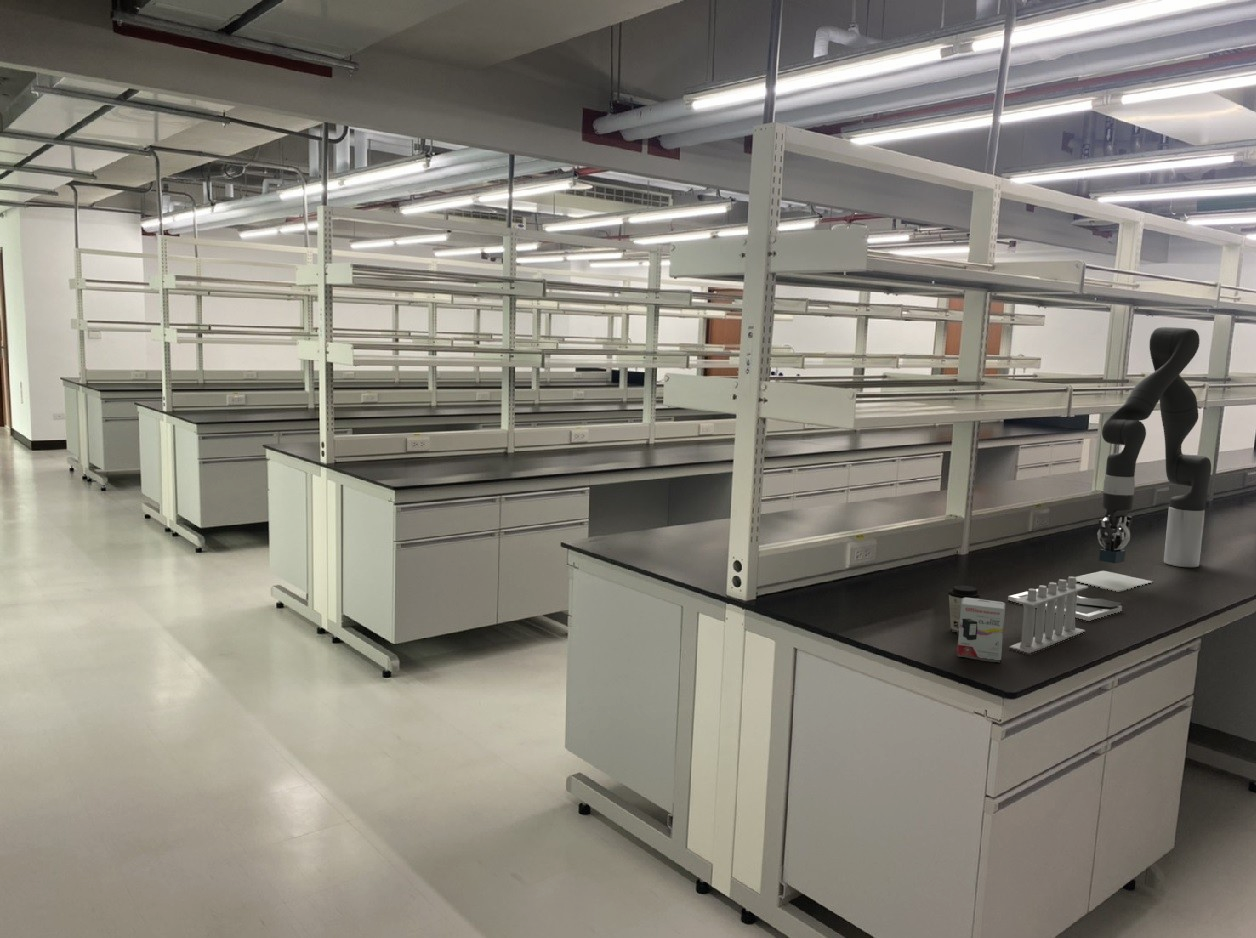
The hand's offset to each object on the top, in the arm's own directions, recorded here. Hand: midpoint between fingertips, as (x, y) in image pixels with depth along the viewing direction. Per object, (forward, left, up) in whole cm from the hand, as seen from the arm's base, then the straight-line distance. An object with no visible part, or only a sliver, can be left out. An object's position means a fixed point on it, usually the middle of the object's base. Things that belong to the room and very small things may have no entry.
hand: (1112, 552), depth 249 cm
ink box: (+86, +19, -8) cm, 88 cm away
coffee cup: (+74, +6, -8) cm, 75 cm away
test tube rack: (+63, +20, -9) cm, 67 cm away
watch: (0, 0, -3) cm, 3 cm away
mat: (0, 0, -8) cm, 8 cm away
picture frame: (+34, +7, -9) cm, 36 cm away
